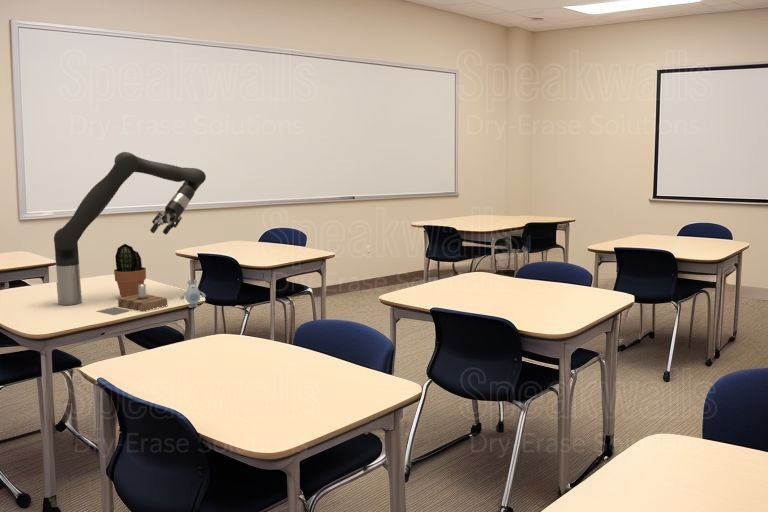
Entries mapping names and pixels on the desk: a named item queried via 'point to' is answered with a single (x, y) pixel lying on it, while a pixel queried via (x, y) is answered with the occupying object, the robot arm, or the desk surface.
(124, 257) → the potted plant
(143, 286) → the metal peg
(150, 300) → the hole block
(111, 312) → the rubber mat
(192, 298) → the toy figure
